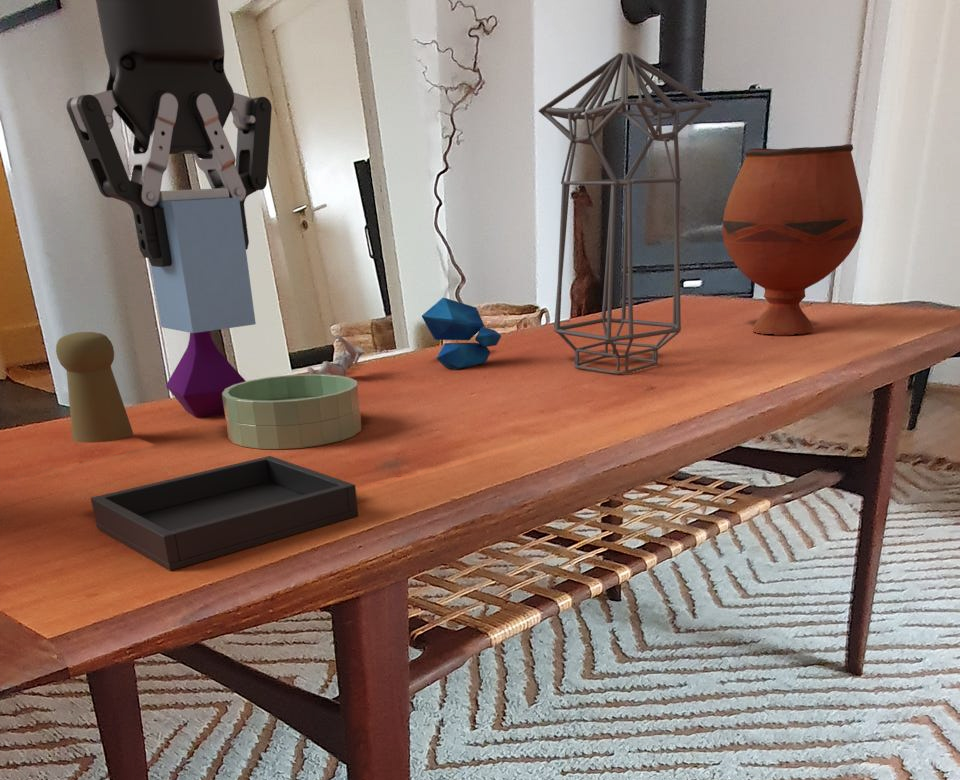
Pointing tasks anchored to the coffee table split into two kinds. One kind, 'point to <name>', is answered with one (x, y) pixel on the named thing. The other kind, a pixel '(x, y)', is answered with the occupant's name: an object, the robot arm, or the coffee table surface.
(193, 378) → the perfume bottle
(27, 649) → the coffee table surface
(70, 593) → the coffee table surface
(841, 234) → the goblet
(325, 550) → the coffee table surface
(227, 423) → the bowl
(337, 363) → the seated figurine
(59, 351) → the cork
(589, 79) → the geometric lantern
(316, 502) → the tray
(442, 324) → the crystal
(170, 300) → the carton
